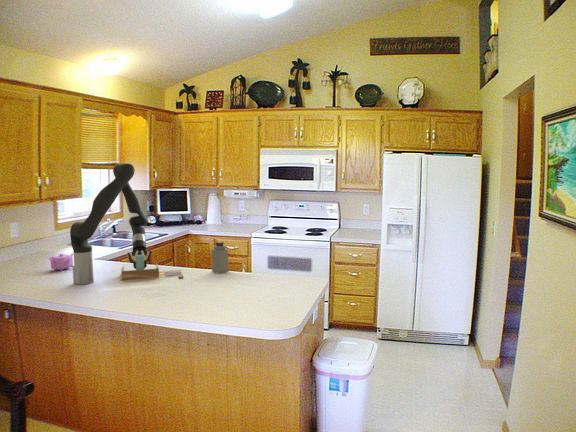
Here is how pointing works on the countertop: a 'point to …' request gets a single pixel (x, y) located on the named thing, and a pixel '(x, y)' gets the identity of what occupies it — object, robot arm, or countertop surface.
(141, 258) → the block
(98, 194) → the robot arm
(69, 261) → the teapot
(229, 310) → the countertop surface
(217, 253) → the perfume bottle
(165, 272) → the stand
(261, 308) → the countertop surface
